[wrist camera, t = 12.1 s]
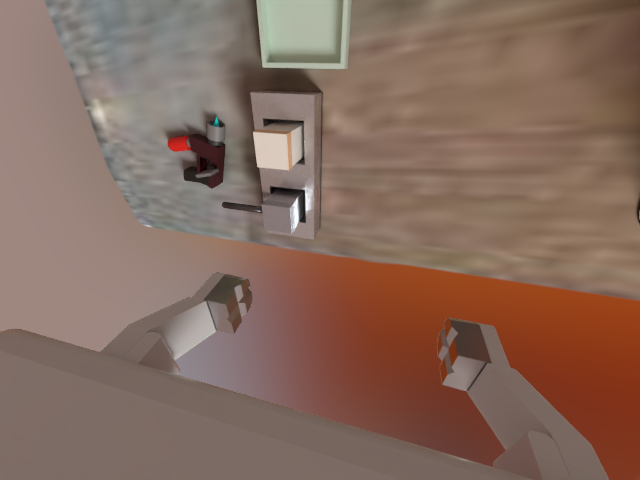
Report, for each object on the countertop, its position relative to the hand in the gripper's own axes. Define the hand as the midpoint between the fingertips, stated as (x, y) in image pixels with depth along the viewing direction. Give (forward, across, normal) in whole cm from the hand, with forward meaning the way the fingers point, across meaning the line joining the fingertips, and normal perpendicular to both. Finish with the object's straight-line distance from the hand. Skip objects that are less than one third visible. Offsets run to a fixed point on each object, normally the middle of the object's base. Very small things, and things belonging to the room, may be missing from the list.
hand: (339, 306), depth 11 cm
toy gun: (+30, +28, +3) cm, 41 cm away
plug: (+29, +12, 0) cm, 31 cm away
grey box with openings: (+29, +15, +4) cm, 33 cm away
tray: (+29, +10, -13) cm, 33 cm away
